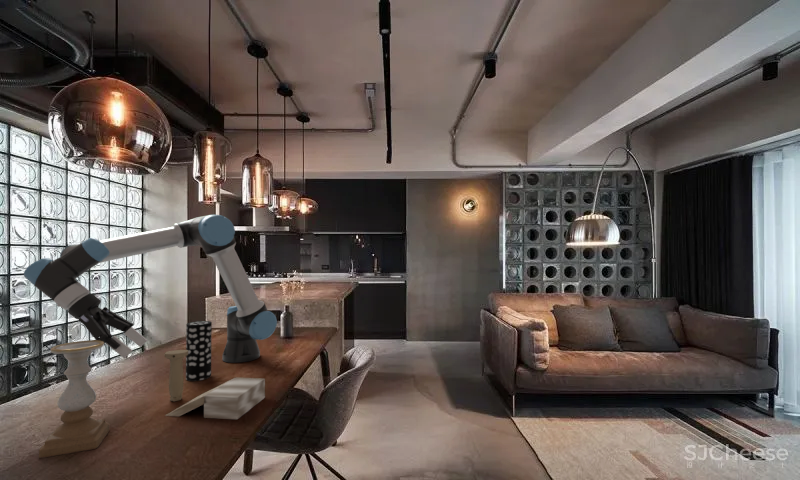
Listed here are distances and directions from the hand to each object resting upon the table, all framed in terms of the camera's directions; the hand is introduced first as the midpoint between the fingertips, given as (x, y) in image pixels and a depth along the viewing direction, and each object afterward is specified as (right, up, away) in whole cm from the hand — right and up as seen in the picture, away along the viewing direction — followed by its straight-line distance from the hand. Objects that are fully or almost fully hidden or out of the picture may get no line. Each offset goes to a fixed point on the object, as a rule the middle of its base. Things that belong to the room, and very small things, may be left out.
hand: (136, 348), depth 119 cm
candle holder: (+2, -16, -24) cm, 29 cm away
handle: (+10, -17, +3) cm, 20 cm away
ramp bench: (+26, -18, -2) cm, 32 cm away
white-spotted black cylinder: (+6, -18, +25) cm, 31 cm away
